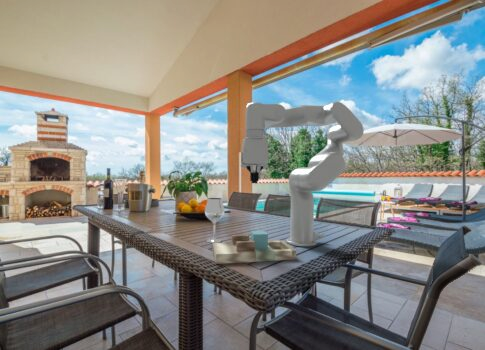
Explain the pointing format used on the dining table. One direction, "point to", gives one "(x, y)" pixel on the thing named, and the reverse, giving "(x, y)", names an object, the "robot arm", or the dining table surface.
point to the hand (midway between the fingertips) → (254, 183)
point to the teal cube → (260, 239)
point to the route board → (251, 251)
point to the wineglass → (214, 214)
